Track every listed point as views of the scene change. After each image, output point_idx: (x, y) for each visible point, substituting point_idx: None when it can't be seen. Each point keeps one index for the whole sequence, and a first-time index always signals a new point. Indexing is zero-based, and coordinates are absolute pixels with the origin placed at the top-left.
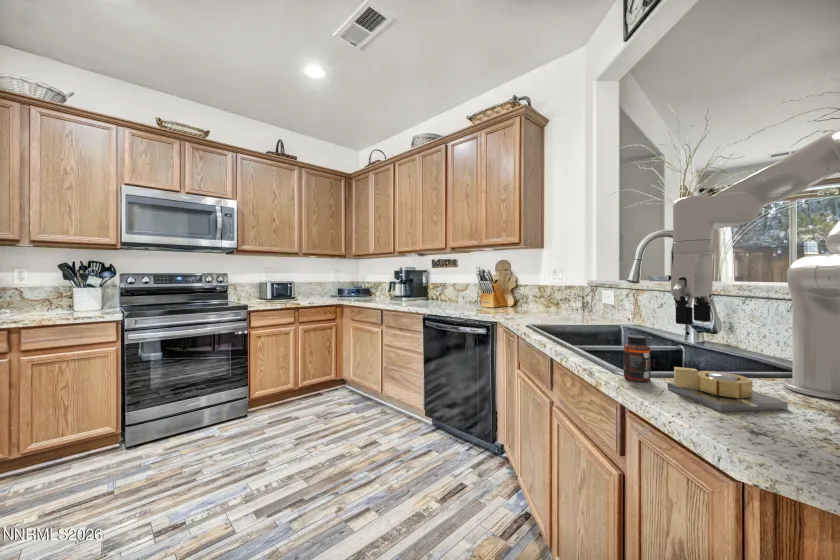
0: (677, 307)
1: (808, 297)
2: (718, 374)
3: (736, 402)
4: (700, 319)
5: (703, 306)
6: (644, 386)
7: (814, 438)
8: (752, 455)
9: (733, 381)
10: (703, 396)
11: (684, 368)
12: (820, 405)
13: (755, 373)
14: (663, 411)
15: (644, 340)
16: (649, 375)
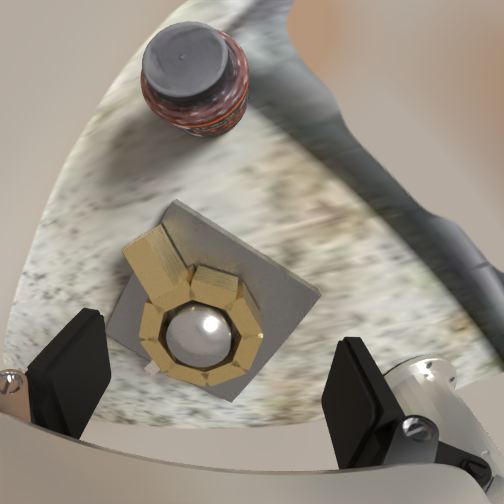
0: (33, 374)
1: None
2: (194, 334)
3: (142, 349)
4: (332, 373)
5: (348, 452)
6: (150, 149)
7: (118, 413)
8: (11, 363)
9: (170, 362)
10: (125, 299)
11: (149, 265)
12: (311, 413)
13: (491, 294)
14: (29, 255)
15: (177, 100)
16: (205, 136)
